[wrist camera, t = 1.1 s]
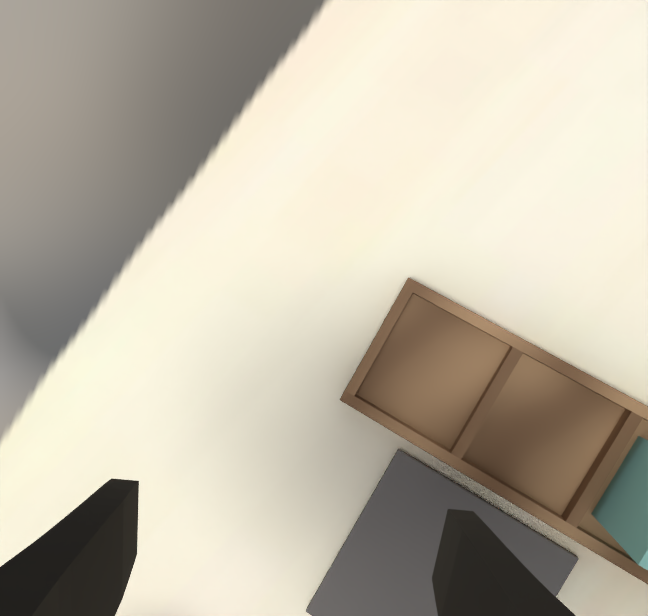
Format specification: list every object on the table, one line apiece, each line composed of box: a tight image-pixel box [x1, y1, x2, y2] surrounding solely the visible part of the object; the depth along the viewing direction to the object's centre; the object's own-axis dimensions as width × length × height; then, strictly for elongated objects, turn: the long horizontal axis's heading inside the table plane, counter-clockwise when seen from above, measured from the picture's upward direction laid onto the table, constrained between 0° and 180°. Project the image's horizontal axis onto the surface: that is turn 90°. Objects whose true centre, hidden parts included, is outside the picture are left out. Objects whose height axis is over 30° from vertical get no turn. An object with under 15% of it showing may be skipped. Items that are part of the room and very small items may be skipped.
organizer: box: [340, 278, 648, 584], centre depth 23 cm, size 17×6×1 cm, turn 61°
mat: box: [306, 449, 578, 616], centre depth 24 cm, size 9×9×1 cm
